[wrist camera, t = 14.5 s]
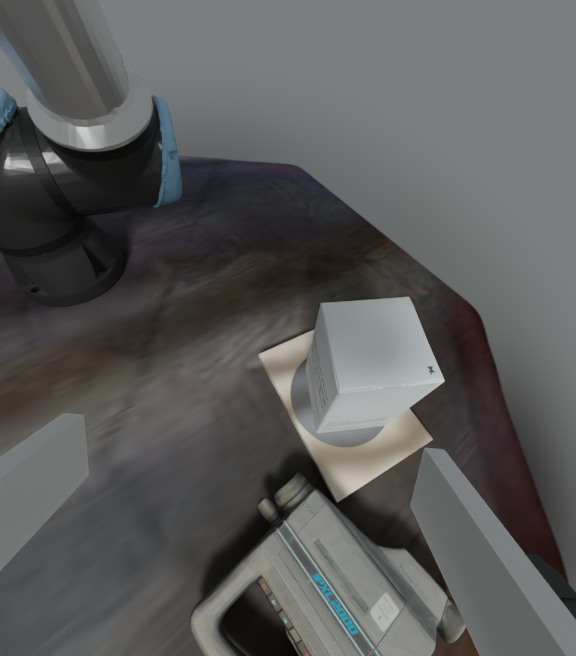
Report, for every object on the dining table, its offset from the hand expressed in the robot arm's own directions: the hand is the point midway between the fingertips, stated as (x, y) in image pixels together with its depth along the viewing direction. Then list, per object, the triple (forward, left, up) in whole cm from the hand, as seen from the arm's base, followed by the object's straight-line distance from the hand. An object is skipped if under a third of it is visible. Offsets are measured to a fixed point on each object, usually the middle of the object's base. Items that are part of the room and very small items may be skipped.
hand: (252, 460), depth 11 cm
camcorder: (+10, +1, -26) cm, 28 cm away
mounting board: (-5, +13, -25) cm, 29 cm away
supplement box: (-5, +14, -24) cm, 28 cm away
